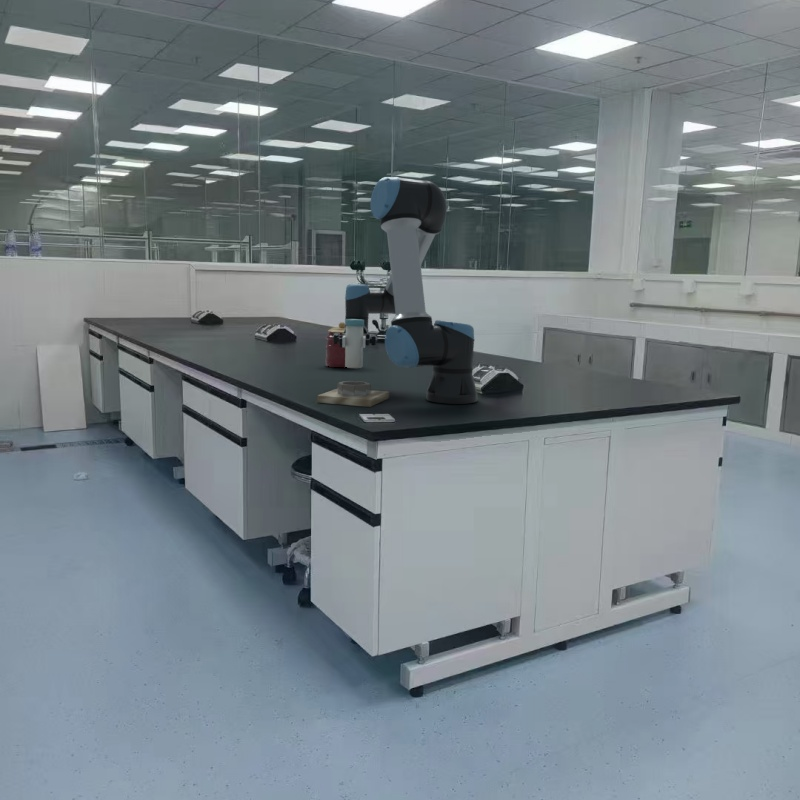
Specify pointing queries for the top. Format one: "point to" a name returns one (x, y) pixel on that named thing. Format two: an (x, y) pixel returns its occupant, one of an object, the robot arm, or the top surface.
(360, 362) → the canister
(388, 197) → the robot arm
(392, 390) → the top surface
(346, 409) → the top surface
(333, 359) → the canister
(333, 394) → the collar base
